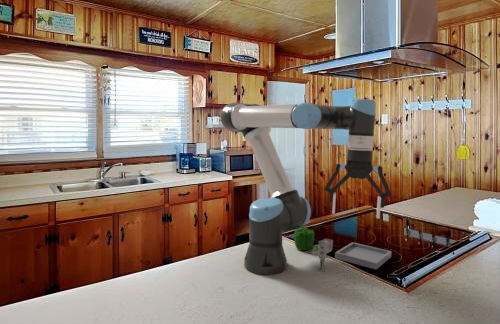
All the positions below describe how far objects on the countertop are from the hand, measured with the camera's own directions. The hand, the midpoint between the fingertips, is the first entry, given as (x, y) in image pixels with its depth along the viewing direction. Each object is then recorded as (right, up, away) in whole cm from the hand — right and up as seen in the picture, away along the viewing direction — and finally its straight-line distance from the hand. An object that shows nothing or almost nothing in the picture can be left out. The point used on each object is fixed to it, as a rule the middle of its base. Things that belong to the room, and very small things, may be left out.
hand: (355, 215), depth 106 cm
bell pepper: (-12, -19, +29) cm, 36 cm away
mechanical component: (-9, -20, +8) cm, 24 cm away
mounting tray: (+9, -19, +20) cm, 29 cm away
